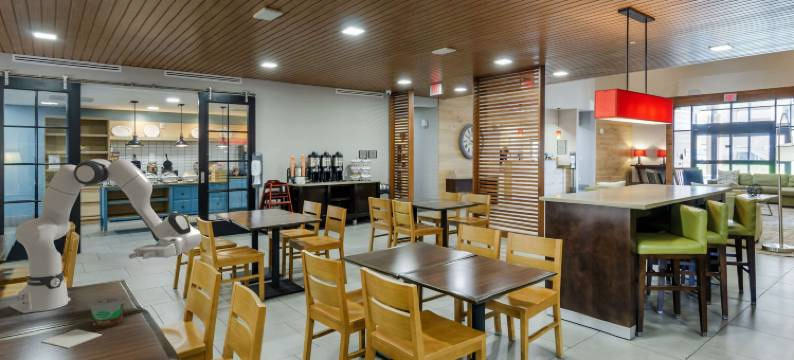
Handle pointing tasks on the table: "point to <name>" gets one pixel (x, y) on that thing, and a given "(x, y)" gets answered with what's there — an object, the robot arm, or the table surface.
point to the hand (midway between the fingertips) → (136, 256)
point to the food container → (107, 312)
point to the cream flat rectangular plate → (72, 338)
